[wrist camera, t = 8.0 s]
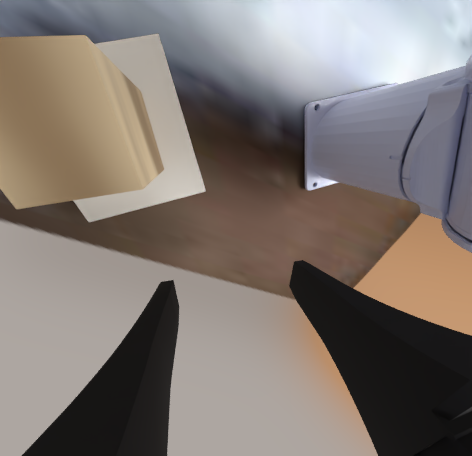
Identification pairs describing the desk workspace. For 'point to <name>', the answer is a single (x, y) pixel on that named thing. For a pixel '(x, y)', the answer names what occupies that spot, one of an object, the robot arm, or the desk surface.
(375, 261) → the desk surface
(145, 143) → the oak block
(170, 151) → the base
